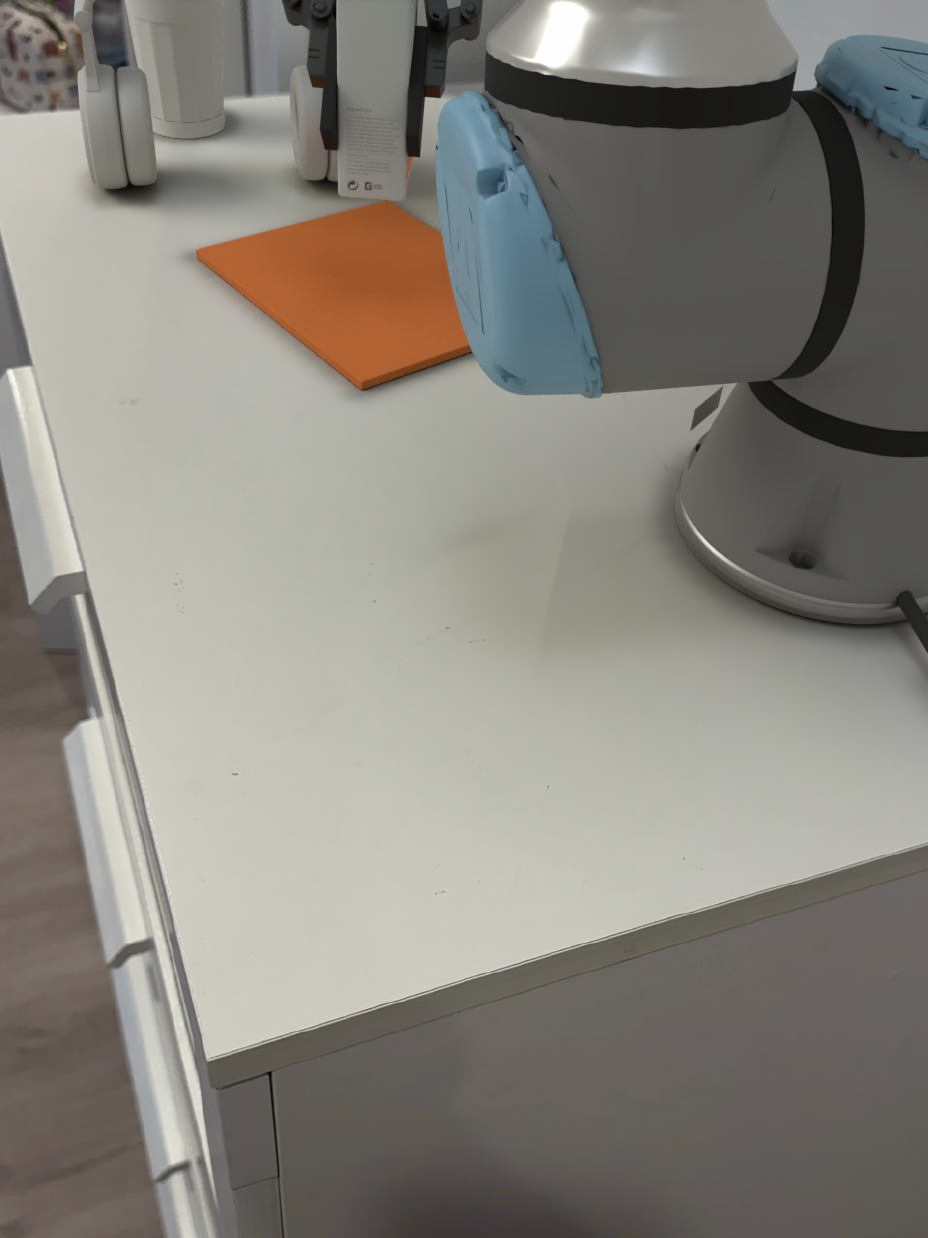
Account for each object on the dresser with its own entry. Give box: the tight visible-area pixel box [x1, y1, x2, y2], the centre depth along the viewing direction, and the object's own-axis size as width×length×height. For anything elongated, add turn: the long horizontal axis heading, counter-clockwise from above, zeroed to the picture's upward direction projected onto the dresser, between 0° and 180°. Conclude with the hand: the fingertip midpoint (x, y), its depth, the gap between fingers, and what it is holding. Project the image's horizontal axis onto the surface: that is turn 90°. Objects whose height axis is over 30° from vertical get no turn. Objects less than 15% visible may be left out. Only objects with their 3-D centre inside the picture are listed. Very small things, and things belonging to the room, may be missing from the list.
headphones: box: [73, 0, 338, 190], centre depth 83 cm, size 20×8×19 cm, turn 103°
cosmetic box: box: [337, 0, 419, 202], centre depth 70 cm, size 6×4×12 cm
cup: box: [124, 0, 226, 140], centre depth 94 cm, size 8×8×12 cm
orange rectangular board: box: [195, 200, 473, 391], centre depth 79 cm, size 20×16×1 cm
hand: (370, 142), depth 69 cm, fingers closed on cosmetic box, 4 cm apart
